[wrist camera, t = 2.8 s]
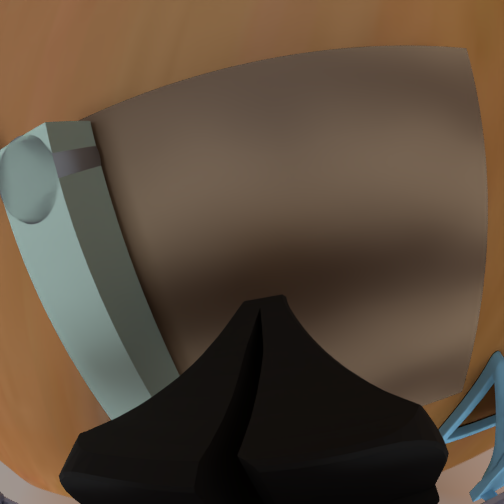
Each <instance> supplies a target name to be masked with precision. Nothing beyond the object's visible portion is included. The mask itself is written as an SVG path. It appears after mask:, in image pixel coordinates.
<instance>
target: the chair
mask: <svg viewBox="0 0 504 504" xmlns="http://www.w3.org/2000/svg"><path fill="white" fill-rule="evenodd" d="M493 384H494V385H495V400H496V415H493V416H491V417H488V418H485V419H483V420H480V421H477V422H474V423H471V424H469V425H466V426H463V427H460V428H458V426H459V425H460V424H461V423H462V422H463V421H464V420H465V419H466V417H467V416H468V415H469V414H470V413H471V412H472V410H473V409H474V408H475V407H476V406H477V404H478V403H479V402H480V401H481V400H482V398H483V397H484V396H485V394H486V393H487V392H488V391H489V389H490V388H491V387H492V385H493ZM493 426H496V433H495V446H494V451H493V456H492V458H491V461H490V464H489V466H488V468H487V470H486V472H485V474H484V476H483V478H482V480H481V481H480V482H479V483H478V484H477V485H476V486H475V487H474V488H473V489H472V490H471V491H470V496H471V498H472V501H473V502H474V501H476V500H478V499H481V498H482V499H484V500H485V501H487V500H489V499H491V498H493V497H495V496H497V495H498V494H497V493H496V492H495V491H496V490H497V489H499V488H501V487H503V486H504V357H503V356H502V354H501V353H500V351H497V352H495V353H494V354H493V355H492V356H491V358H490V360H489V362H488V363H487V365H486V367H485V369H484V370H483V372H482V373H481V375H480V377H479V378H478V380H477V381H476V383H475V384H474V385H473V387H472V388H471V390H470V391H469V392H468V394H467V395H466V396H465V398H464V399H463V400H462V402H461V403H460V404H459V405H458V407H457V408H456V409H455V410H454V412H453V413H452V414H451V415H450V417H449V418H448V419H447V420H446V421H445V423H444V424H443V425H442V426H441V427H440V429H439V432H440V434H441V435H442V437H443V439H444V442H445V444H446V443H449V442H452V441H455V440H458V439H461V438H464V437H467V436H470V435H473V434H475V433H478V432H481V431H483V430H486V429H488V428H491V427H493Z"/></svg>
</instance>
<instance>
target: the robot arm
mask: <svg viewBox="0 0 504 504" xmlns="http://www.w3.org/2000/svg"><path fill="white" fill-rule="evenodd" d="M448 454H449V453H448V450H447V448H446V444H445V442H444V439H443V437H442V435H441V434H440V432H439V430H438V429H437V427H436V425H435V424H434V422H433V421H432V419H431V418H430V417H429V415H428V414H427V412H426V411H425V410H424V408H423V407H422V406H421V405H420V404H417V403H414V402H412V401H409V400H407V399H404V398H401V397H399V396H396V395H394V394H391V393H389V392H386V391H384V390H382V389H380V388H378V387H377V386H375V385H373V384H371V383H369V382H368V381H366V380H364V379H363V378H361V377H360V376H358V375H357V374H355V373H353V372H352V371H350V370H349V369H347V368H346V367H344V366H343V365H342V364H341V363H339V362H338V361H337V360H335V359H334V358H333V357H332V356H331V355H329V354H328V353H327V352H326V351H325V350H324V349H323V348H322V347H321V346H320V345H319V344H318V343H317V342H316V341H315V340H314V339H313V338H312V337H311V336H310V335H309V334H308V332H307V331H306V330H305V329H304V327H303V326H302V325H301V323H300V322H299V321H298V319H297V318H296V317H295V315H294V314H293V312H292V310H291V308H290V307H289V305H288V302H287V298H286V296H284V295H283V294H281V295H276V296H270V297H265V298H259V299H254V300H248V301H244V302H243V303H242V304H241V306H240V307H239V308H238V310H237V311H236V313H235V314H234V315H233V317H232V318H231V320H230V321H229V322H228V324H227V325H226V326H225V328H224V329H223V330H222V332H221V333H220V334H219V336H218V337H217V338H216V339H215V340H214V342H213V343H212V344H211V345H210V346H209V347H208V348H207V350H206V351H205V352H204V353H203V354H202V355H201V356H200V357H199V358H198V359H197V360H196V361H195V362H194V363H193V364H192V365H191V366H190V367H189V368H188V369H187V370H186V371H185V372H184V373H182V374H181V375H180V376H179V377H178V378H177V379H175V380H174V381H173V382H172V383H170V384H169V385H168V386H166V387H165V388H163V389H162V390H161V391H159V392H158V393H157V394H155V395H154V396H153V397H151V398H150V399H148V400H147V401H145V402H143V403H142V404H140V405H139V406H137V407H135V408H134V409H132V410H130V411H128V412H126V413H125V414H123V415H121V416H119V417H117V418H115V419H113V420H111V421H109V422H106V423H104V424H102V425H100V426H97V427H95V428H93V429H91V430H88V431H86V432H83V433H80V434H79V436H78V438H77V440H76V442H75V444H74V446H73V448H72V450H71V452H70V454H69V456H68V458H67V460H66V462H65V464H64V466H63V468H62V470H61V473H60V475H59V478H60V482H61V484H62V486H63V487H64V489H65V490H66V492H68V493H69V494H70V495H71V496H72V497H73V498H74V499H75V500H77V501H78V502H79V503H80V504H438V502H439V495H438V492H437V489H436V486H435V484H436V482H437V480H438V478H439V476H440V474H441V472H442V470H443V468H444V466H445V464H446V462H447V458H448ZM0 504H18V503H16V502H14V501H12V500H10V499H8V498H6V497H4V495H3V494H2V493H1V492H0ZM482 504H504V492H503V493H501V494H499V495H497V496H495V497H493V498H491V499H489V500H487V501H485V502H483V503H482Z"/></svg>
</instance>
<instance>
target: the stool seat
mask: <svg viewBox="0 0 504 504" xmlns="http://www.w3.org/2000/svg"><path fill="white" fill-rule="evenodd" d="M79 121H90V123H91V127H92V131H93V136H94V140H95V144H96V147H97V149H98V151H99V154H100V159H101V167H102V171H103V174H104V178H105V181H106V185H107V188H108V192H109V195H110V198H111V202H112V205H113V208H114V211H115V214H116V218H117V221H118V224H119V227H120V230H121V233H122V236H123V239H124V242H125V245H126V247H127V250H128V253H129V256H130V259H131V261H132V264H133V267H134V270H135V272H136V275H137V278H138V280H139V283H140V285H141V288H142V290H143V293H144V296H145V298H146V301H147V303H148V305H149V308H150V310H151V313H152V315H153V318H154V320H155V322H156V325H157V327H158V329H159V332H160V334H161V336H162V338H163V341H164V343H165V345H166V347H167V350H168V352H169V354H170V356H171V358H172V360H173V363H174V365H175V367H176V369H177V371H178V373H179V375H181V374H182V373H184V372H185V371H186V370H187V369H188V368H189V367H190V366H191V365H192V364H193V363H194V362H195V361H196V360H197V359H198V358H199V357H200V356H201V355H202V354H203V353H204V352H205V351H206V350H207V348H208V347H209V346H210V345H211V344H212V343H213V342H214V340H215V339H216V338H217V337H218V336H219V334H220V333H221V332H222V330H223V329H224V328H225V326H226V325H227V324H228V322H229V321H230V320H231V318H232V317H233V315H234V314H235V313H236V311H237V310H238V308H239V307H240V306H241V304H242V303H243V302H244V301H248V300H254V299H259V298H265V297H270V296H276V295H281V294H283V295H284V296H286V298H287V302H288V305H289V307H290V308H291V310H292V312H293V314H294V315H295V317H296V318H297V319H298V321H299V322H300V323H301V325H302V326H303V327H304V329H305V330H306V331H307V332H308V334H309V335H310V336H311V337H312V338H313V339H314V340H315V341H316V342H317V343H318V344H319V345H320V346H321V347H322V348H323V349H324V350H325V351H326V352H327V353H328V354H329V355H331V356H332V357H333V358H334V359H335V360H337V361H338V362H339V363H341V364H342V365H343V366H344V367H346V368H347V369H349V370H350V371H352V372H353V373H355V374H357V375H358V376H360V377H361V378H363V379H364V380H366V381H368V382H369V383H371V384H373V385H375V386H377V387H378V388H380V389H382V390H384V391H386V392H389V393H391V394H394V395H396V396H399V397H401V398H404V399H407V400H409V401H412V402H414V403H417V404H420V405H421V406H424V405H427V404H430V403H432V402H435V401H438V400H441V399H444V398H447V397H449V396H452V395H455V394H457V393H460V392H462V389H463V386H464V382H465V379H466V375H467V371H468V367H469V363H470V359H471V354H472V350H473V345H474V341H475V336H476V330H477V325H478V319H479V313H480V307H481V300H482V292H483V284H484V274H485V263H486V249H487V226H488V194H487V171H486V157H485V146H484V137H483V129H482V122H481V115H480V109H479V103H478V97H477V92H476V87H475V82H474V77H473V73H472V69H471V64H470V60H469V56H468V53H467V49H466V48H455V47H439V46H373V47H356V48H344V49H333V50H324V51H316V52H308V53H301V54H295V55H288V56H282V57H277V58H271V59H266V60H261V61H256V62H251V63H247V64H242V65H238V66H234V67H229V68H225V69H221V70H217V71H214V72H210V73H206V74H203V75H199V76H196V77H192V78H189V79H186V80H182V81H179V82H176V83H173V84H170V85H167V86H164V87H161V88H158V89H155V90H152V91H149V92H147V93H144V94H141V95H138V96H136V97H133V98H130V99H128V100H125V101H123V102H120V103H118V104H115V105H113V106H111V107H108V108H106V109H104V110H101V111H99V112H97V113H94V114H92V115H90V116H88V117H86V118H83V119H81V120H79Z"/></svg>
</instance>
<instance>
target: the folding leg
mask: <svg viewBox="0 0 504 504" xmlns="http://www.w3.org/2000/svg"><path fill="white" fill-rule="evenodd" d="M0 195H1V198H2V200H3V203H4V205H5V209H6V212H7V215H8V218H9V221H10V224H11V227H12V230H13V233H14V236H15V239H16V242H17V245H18V247H19V250H20V253H21V255H22V258H23V260H24V263H25V265H26V268H27V270H28V273H29V275H30V278H31V280H32V282H33V285H34V287H35V289H36V291H37V294H38V296H39V298H40V300H41V302H42V304H43V306H44V308H45V311H46V313H47V315H48V317H49V319H50V321H51V323H52V325H53V326H54V328H55V330H56V332H57V334H58V336H59V338H60V340H61V341H62V343H63V345H64V347H65V349H66V350H67V352H68V354H69V356H70V357H71V359H72V361H73V362H74V364H75V366H76V367H77V369H78V371H79V372H80V374H81V376H82V377H83V379H84V380H85V382H86V384H87V385H88V387H89V388H90V390H91V391H92V393H93V394H94V396H95V397H96V399H97V400H98V402H99V403H100V404H101V406H102V407H103V409H104V410H105V412H106V413H107V414H108V416H109V417H110V419H111V420H113V419H115V418H117V417H119V416H121V415H123V414H125V413H126V412H128V411H130V410H132V409H134V408H135V407H137V406H139V405H140V404H142V403H143V402H145V401H147V400H148V399H150V398H151V397H153V396H154V395H155V394H157V393H158V392H159V391H161V390H162V389H163V388H165V387H166V386H168V385H169V384H170V383H172V382H173V381H174V380H175V379H177V378H178V377H179V376H180V375H179V373H178V371H177V369H176V367H175V365H174V363H173V360H172V358H171V356H170V354H169V352H168V350H167V347H166V345H165V343H164V341H163V338H162V336H161V334H160V332H159V329H158V327H157V325H156V322H155V320H154V318H153V315H152V313H151V310H150V308H149V305H148V303H147V301H146V298H145V296H144V293H143V290H142V288H141V285H140V283H139V280H138V278H137V275H136V272H135V270H134V267H133V264H132V261H131V259H130V256H129V253H128V250H127V247H126V245H125V242H124V239H123V236H122V233H121V230H120V227H119V224H118V221H117V218H116V214H115V211H114V208H113V205H112V202H111V198H110V195H109V192H108V188H107V185H106V181H105V178H104V174H103V171H102V167H101V159H100V154H99V151H98V149H97V147H96V144H95V140H94V136H93V131H92V127H91V123H90V121H64V122H45V123H43V124H41V125H40V126H38V127H36V128H35V129H33V130H31V131H29V132H28V133H26V134H24V135H22V136H19V137H17V138H15V139H14V140H13V141H11V142H10V144H9V145H7V146H6V147H4V148H3V149H1V150H0Z"/></svg>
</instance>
